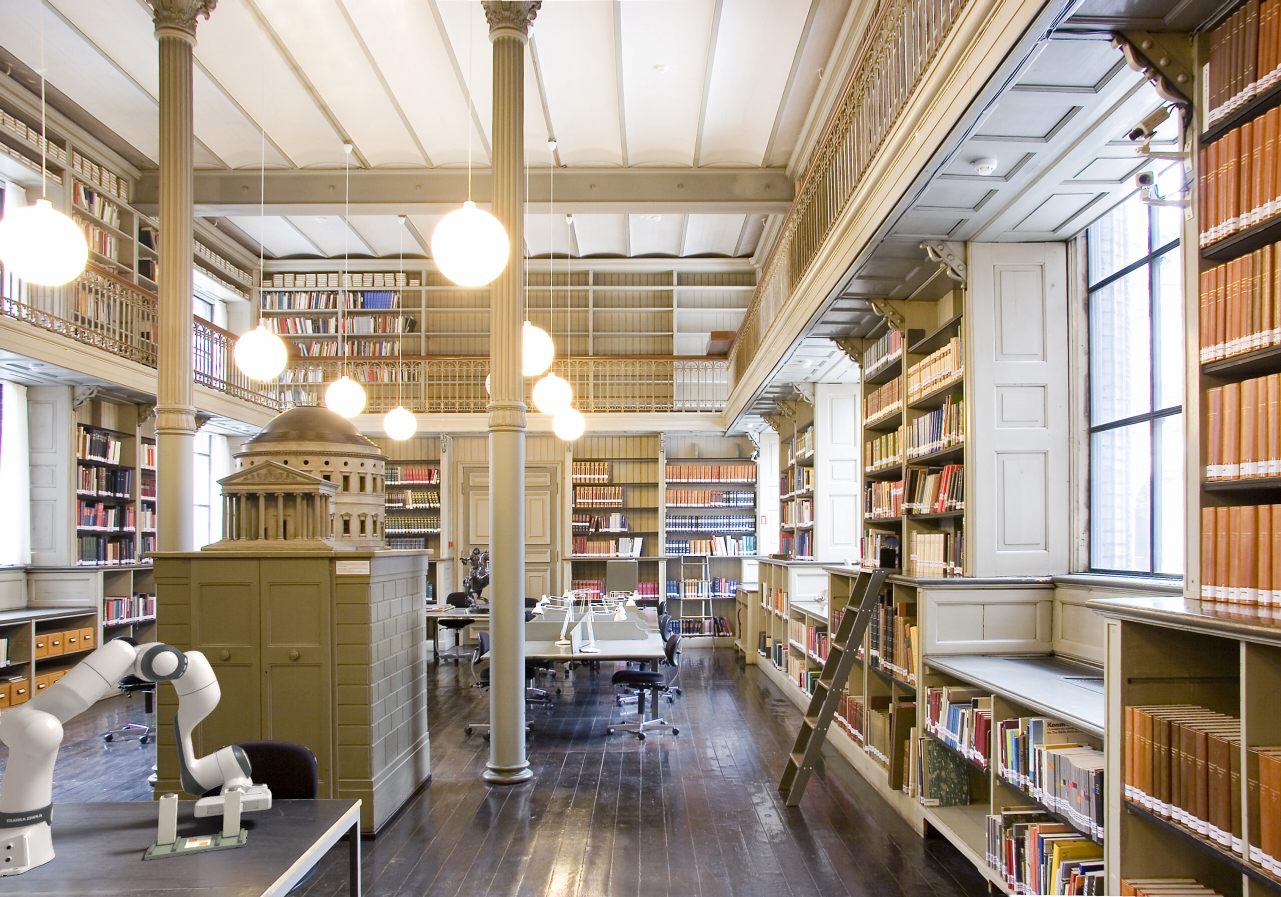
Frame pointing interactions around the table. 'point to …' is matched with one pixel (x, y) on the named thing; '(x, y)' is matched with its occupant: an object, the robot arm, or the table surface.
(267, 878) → the table surface
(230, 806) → the right switch
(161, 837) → the left switch
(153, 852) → the switch unit
